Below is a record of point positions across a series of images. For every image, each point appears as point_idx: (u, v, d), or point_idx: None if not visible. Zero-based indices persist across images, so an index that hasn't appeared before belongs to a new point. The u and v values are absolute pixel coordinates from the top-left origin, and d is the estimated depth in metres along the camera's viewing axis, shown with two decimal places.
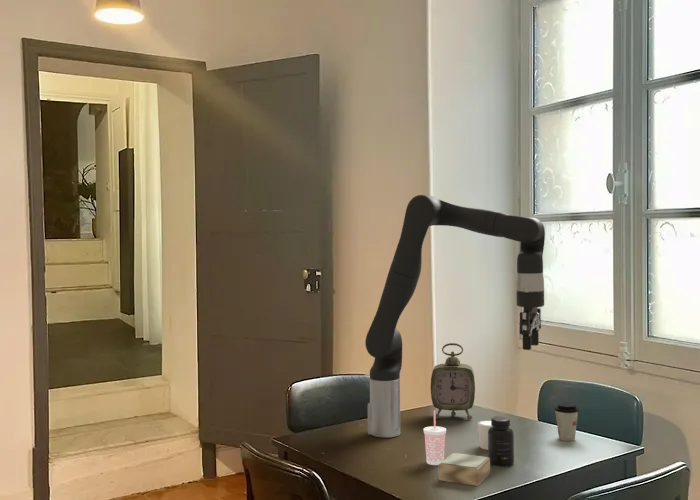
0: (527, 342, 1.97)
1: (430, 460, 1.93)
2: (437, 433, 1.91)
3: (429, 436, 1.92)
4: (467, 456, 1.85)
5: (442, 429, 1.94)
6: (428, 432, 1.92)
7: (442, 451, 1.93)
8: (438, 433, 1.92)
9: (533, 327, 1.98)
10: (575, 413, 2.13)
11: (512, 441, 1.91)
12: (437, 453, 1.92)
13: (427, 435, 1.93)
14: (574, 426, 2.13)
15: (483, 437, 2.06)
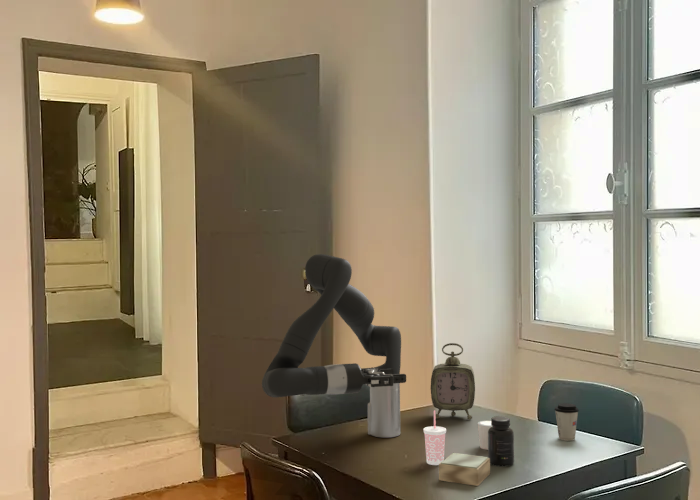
0: None
1: (430, 460, 1.93)
2: (437, 433, 1.91)
3: (429, 436, 1.92)
4: (467, 456, 1.85)
5: (442, 429, 1.94)
6: (428, 432, 1.92)
7: (442, 451, 1.93)
8: (438, 433, 1.92)
9: None
10: (575, 413, 2.13)
11: (512, 441, 1.91)
12: (437, 453, 1.92)
13: (427, 435, 1.93)
14: (574, 426, 2.13)
15: (483, 437, 2.06)
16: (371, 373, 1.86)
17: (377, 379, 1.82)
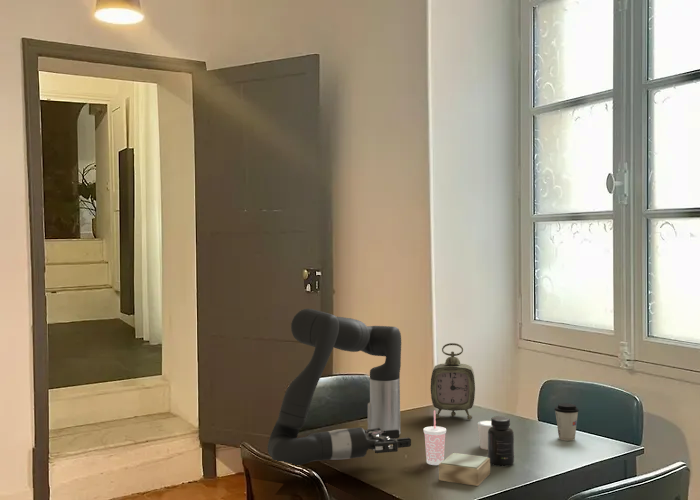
0: None
1: (430, 460, 1.93)
2: (437, 433, 1.91)
3: (429, 436, 1.92)
4: (467, 456, 1.85)
5: (442, 429, 1.94)
6: (428, 432, 1.92)
7: (442, 451, 1.93)
8: (438, 433, 1.92)
9: None
10: (575, 413, 2.13)
11: (512, 441, 1.91)
12: (437, 453, 1.92)
13: (427, 435, 1.93)
14: (574, 426, 2.13)
15: (483, 437, 2.06)
16: (376, 437, 1.87)
17: (381, 445, 1.83)
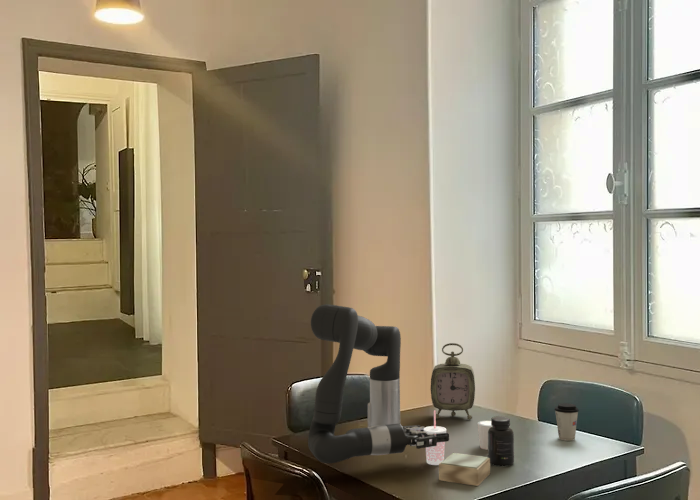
0: None
1: (430, 460, 1.93)
2: None
3: None
4: (467, 456, 1.85)
5: (442, 429, 1.94)
6: (428, 432, 1.92)
7: (442, 451, 1.93)
8: None
9: None
10: (575, 413, 2.13)
11: (512, 441, 1.91)
12: (437, 453, 1.92)
13: None
14: (574, 426, 2.13)
15: (483, 437, 2.06)
16: (414, 433, 1.90)
17: (422, 440, 1.86)
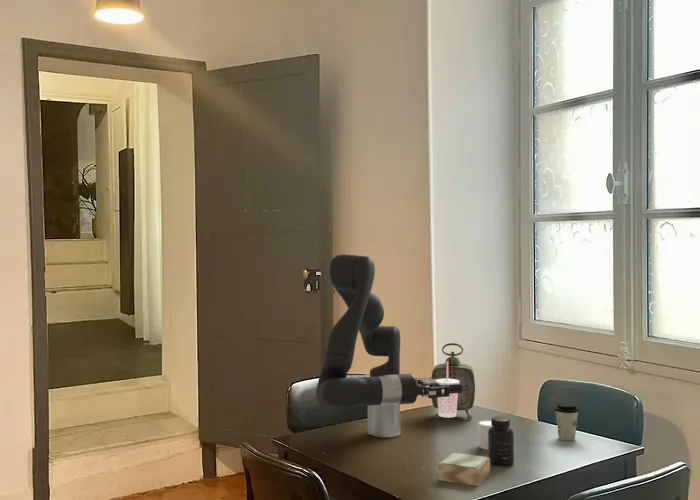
0: None
1: (442, 413, 1.86)
2: None
3: None
4: (467, 456, 1.85)
5: (455, 381, 1.87)
6: (440, 383, 1.85)
7: (455, 403, 1.86)
8: None
9: None
10: (575, 413, 2.13)
11: (512, 441, 1.91)
12: (449, 405, 1.85)
13: None
14: (574, 426, 2.13)
15: (483, 437, 2.06)
16: (426, 384, 1.83)
17: (435, 390, 1.79)
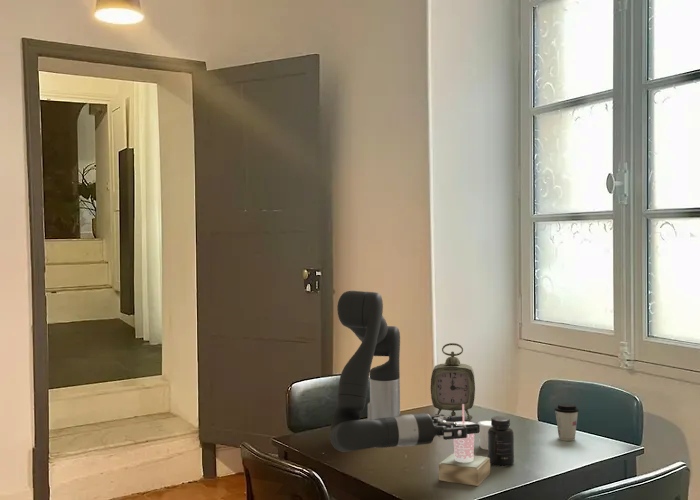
0: None
1: (459, 457, 1.80)
2: None
3: (458, 431, 1.80)
4: None
5: None
6: None
7: (472, 447, 1.80)
8: None
9: None
10: (575, 413, 2.13)
11: (512, 441, 1.91)
12: (466, 450, 1.80)
13: None
14: (574, 426, 2.13)
15: (483, 437, 2.06)
16: (443, 423, 1.78)
17: (450, 431, 1.73)
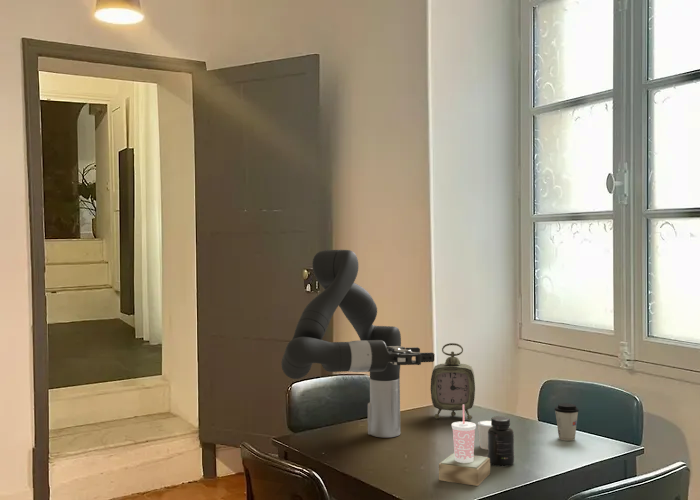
0: None
1: (459, 458, 1.80)
2: (467, 429, 1.79)
3: (458, 431, 1.80)
4: None
5: (471, 424, 1.82)
6: (457, 428, 1.80)
7: (472, 448, 1.80)
8: (468, 429, 1.79)
9: None
10: (575, 413, 2.13)
11: (512, 441, 1.91)
12: (466, 451, 1.80)
13: (456, 431, 1.80)
14: (574, 426, 2.13)
15: (483, 437, 2.06)
16: (397, 351, 1.74)
17: (404, 357, 1.70)
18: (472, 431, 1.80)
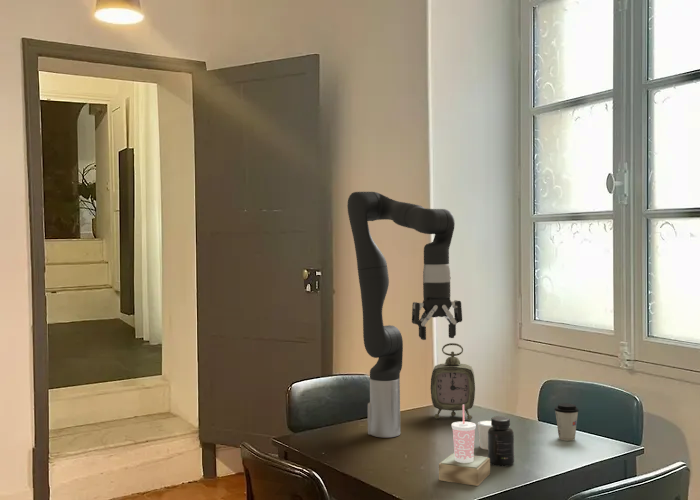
0: (420, 332, 2.00)
1: (459, 458, 1.80)
2: (467, 429, 1.79)
3: (458, 431, 1.80)
4: None
5: (471, 424, 1.82)
6: (457, 428, 1.80)
7: (472, 448, 1.80)
8: (468, 429, 1.79)
9: (427, 318, 1.99)
10: (575, 413, 2.13)
11: (512, 441, 1.91)
12: (466, 451, 1.80)
13: (456, 431, 1.80)
14: (574, 426, 2.13)
15: (483, 437, 2.06)
16: None
17: None
18: (472, 431, 1.80)
